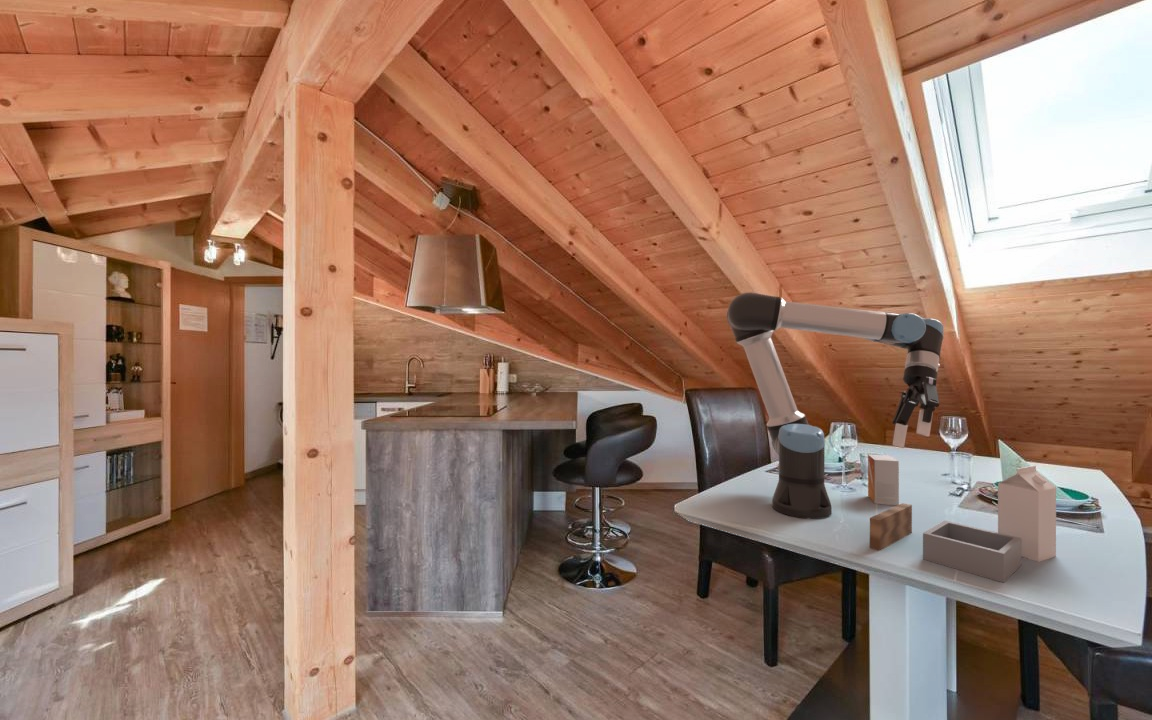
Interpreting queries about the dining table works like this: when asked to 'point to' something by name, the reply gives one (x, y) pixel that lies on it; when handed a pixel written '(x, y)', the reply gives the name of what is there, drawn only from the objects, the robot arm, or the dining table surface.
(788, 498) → the robot arm
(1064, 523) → the dining table surface
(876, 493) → the small box
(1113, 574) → the dining table surface
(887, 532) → the walnut wall
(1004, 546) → the tray
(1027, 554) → the milk carton
